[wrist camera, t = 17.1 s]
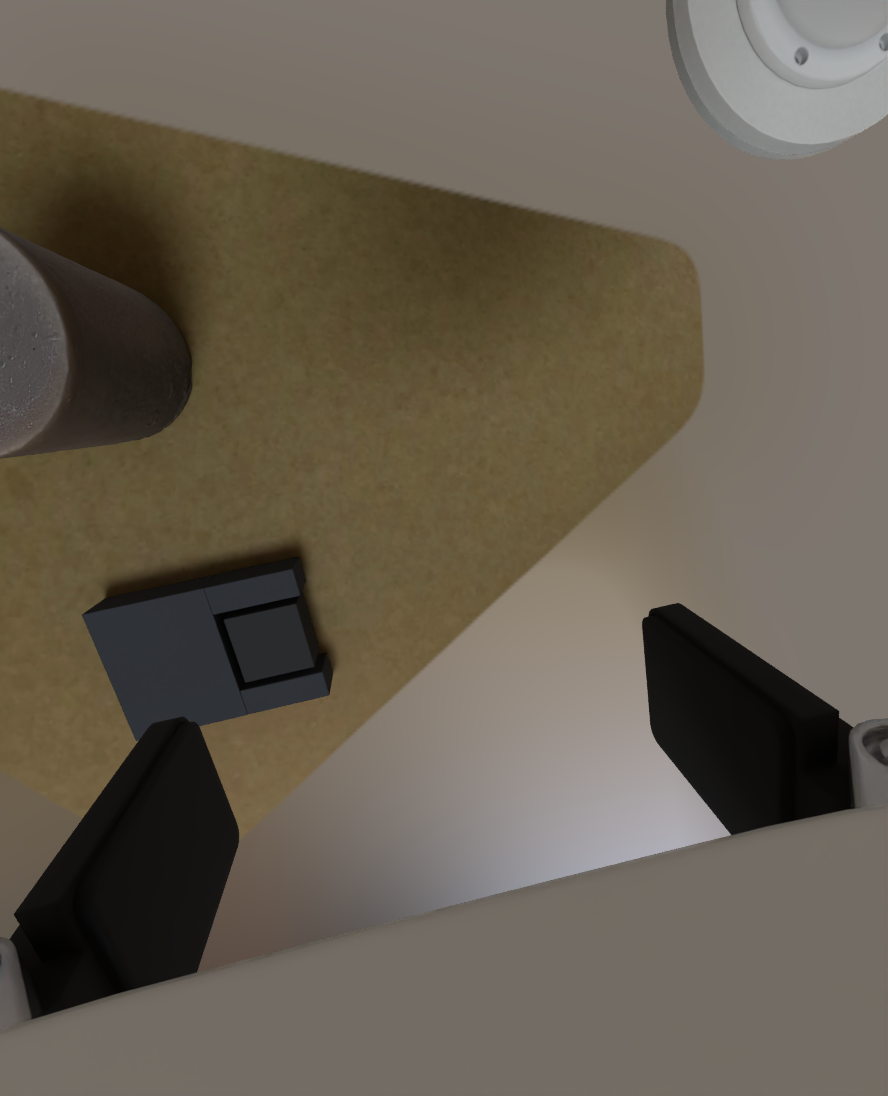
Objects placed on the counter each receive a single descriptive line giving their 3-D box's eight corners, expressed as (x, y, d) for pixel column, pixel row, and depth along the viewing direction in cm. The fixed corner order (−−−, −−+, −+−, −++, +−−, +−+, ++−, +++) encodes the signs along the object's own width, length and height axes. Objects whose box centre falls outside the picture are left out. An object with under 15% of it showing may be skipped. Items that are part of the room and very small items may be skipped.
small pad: (302, 588, 38) (295, 603, 35) (319, 648, 40) (314, 667, 37) (235, 603, 38) (223, 619, 35) (254, 662, 39) (245, 683, 36)
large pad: (299, 556, 37) (292, 568, 35) (333, 675, 40) (329, 695, 37) (104, 598, 37) (81, 614, 34) (153, 716, 39) (135, 741, 37)
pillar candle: (221, 404, 34) (106, 403, 20) (88, 465, 34) (-123, 508, 20) (137, 253, 31) (-67, 123, 17) (-8, 319, 31) (-335, 246, 17)
